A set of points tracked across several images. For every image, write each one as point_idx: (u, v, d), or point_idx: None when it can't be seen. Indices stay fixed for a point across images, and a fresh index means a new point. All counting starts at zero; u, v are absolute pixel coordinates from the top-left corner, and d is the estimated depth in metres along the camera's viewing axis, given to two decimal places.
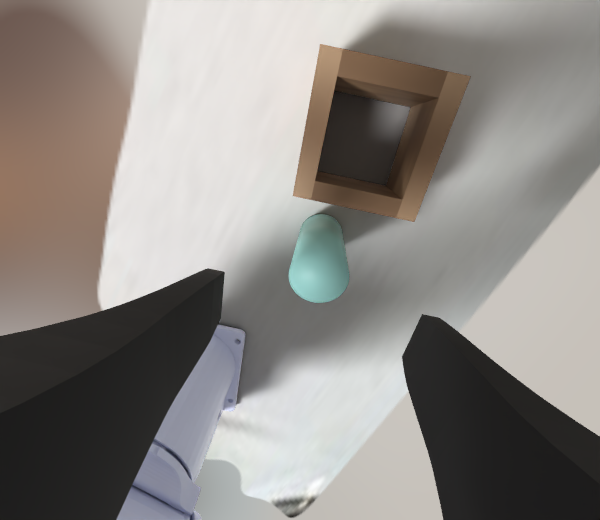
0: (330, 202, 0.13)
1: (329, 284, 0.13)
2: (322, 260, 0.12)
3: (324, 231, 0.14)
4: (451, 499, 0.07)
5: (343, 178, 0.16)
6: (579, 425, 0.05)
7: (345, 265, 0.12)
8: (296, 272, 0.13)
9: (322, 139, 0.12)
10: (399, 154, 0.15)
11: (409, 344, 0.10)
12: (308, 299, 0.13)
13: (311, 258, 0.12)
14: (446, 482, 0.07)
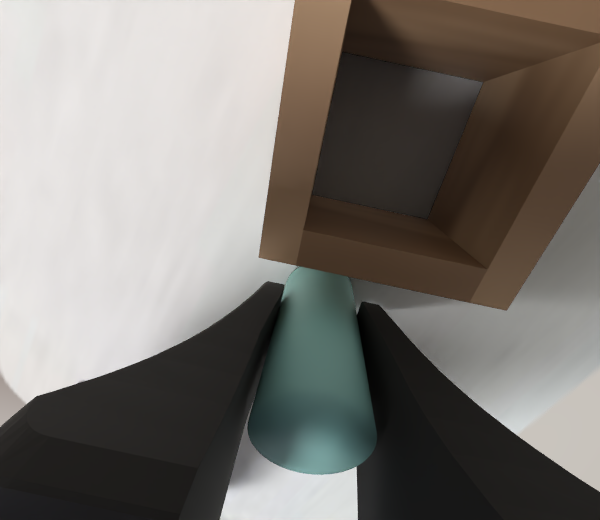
0: (335, 271, 0.06)
1: (333, 448, 0.06)
2: (318, 410, 0.06)
3: (324, 313, 0.08)
4: (364, 481, 0.07)
5: (357, 210, 0.09)
6: (471, 402, 0.05)
7: (369, 419, 0.06)
8: (263, 426, 0.06)
9: (318, 143, 0.05)
10: (460, 169, 0.08)
11: None
12: (290, 466, 0.07)
13: (295, 406, 0.06)
14: (362, 464, 0.07)
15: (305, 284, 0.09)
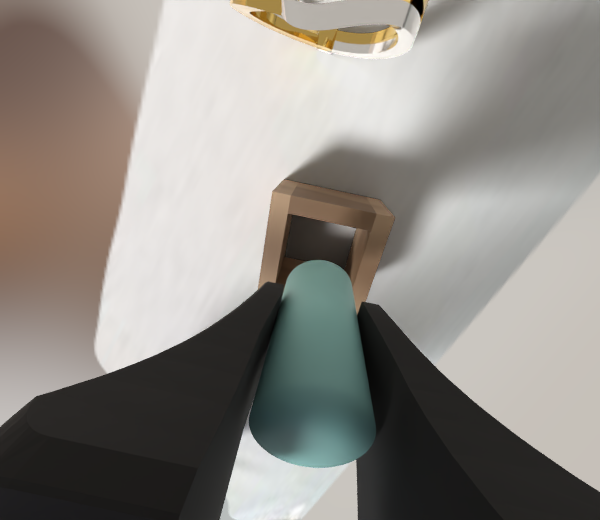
0: None
1: (333, 442, 0.06)
2: (319, 403, 0.06)
3: (324, 309, 0.08)
4: (364, 480, 0.07)
5: None
6: (471, 402, 0.05)
7: (368, 413, 0.06)
8: (264, 419, 0.06)
9: (278, 256, 0.14)
10: (352, 249, 0.17)
11: None
12: (290, 459, 0.07)
13: (296, 399, 0.06)
14: (362, 464, 0.07)
15: (306, 281, 0.09)
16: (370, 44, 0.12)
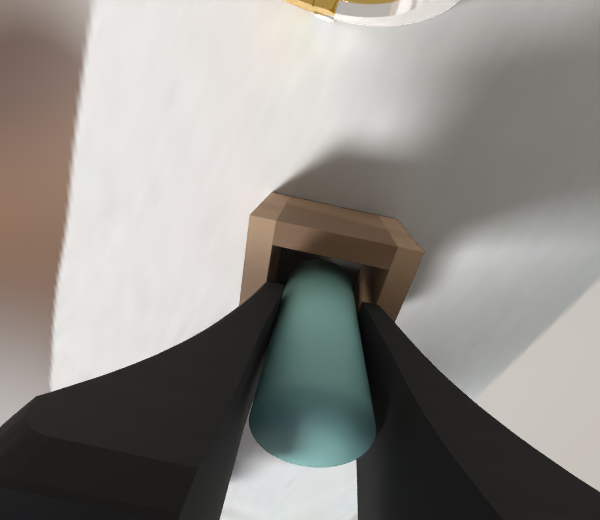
0: None
1: (333, 441, 0.06)
2: (319, 403, 0.06)
3: (324, 309, 0.08)
4: (364, 480, 0.07)
5: None
6: (471, 402, 0.05)
7: (368, 413, 0.06)
8: (264, 419, 0.06)
9: None
10: (360, 283, 0.13)
11: None
12: (290, 459, 0.07)
13: (296, 399, 0.06)
14: (362, 464, 0.07)
15: (306, 281, 0.09)
16: (391, 2, 0.08)
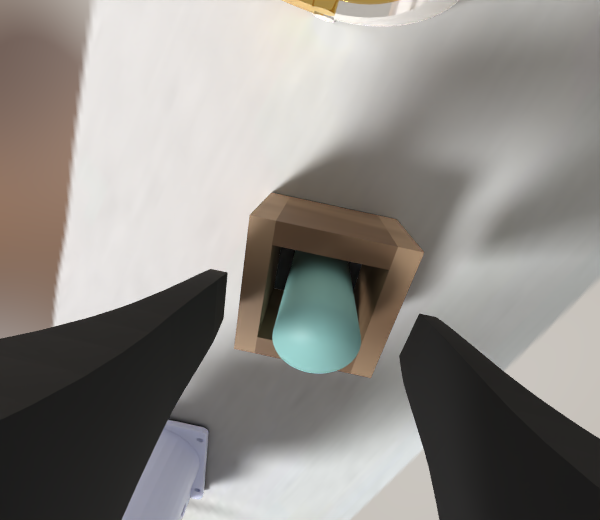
0: (276, 356, 0.12)
1: (331, 350, 0.09)
2: (321, 319, 0.08)
3: (325, 266, 0.10)
4: (447, 498, 0.07)
5: None
6: (574, 424, 0.05)
7: (355, 326, 0.08)
8: (283, 333, 0.09)
9: (261, 301, 0.11)
10: (360, 283, 0.13)
11: (406, 343, 0.10)
12: (300, 368, 0.09)
13: (305, 316, 0.08)
14: (442, 481, 0.07)
15: None
16: (391, 2, 0.08)
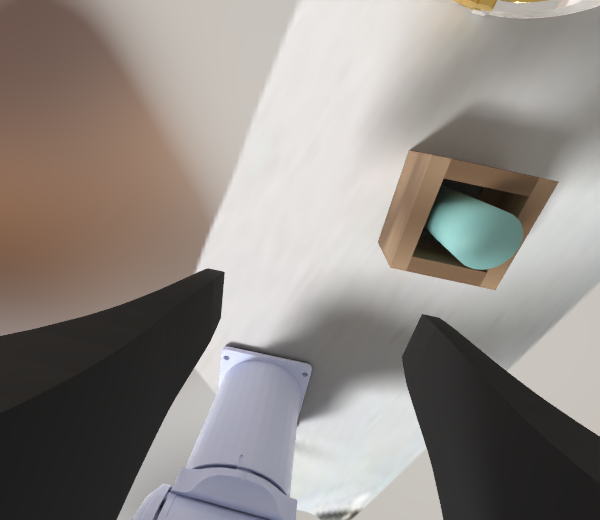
0: (423, 273, 0.15)
1: (497, 249, 0.12)
2: (497, 223, 0.12)
3: (473, 198, 0.14)
4: (451, 499, 0.07)
5: (421, 242, 0.18)
6: (579, 425, 0.05)
7: (520, 228, 0.12)
8: (465, 236, 0.12)
9: (423, 225, 0.14)
10: None
11: (409, 344, 0.10)
12: (468, 266, 0.13)
13: (486, 221, 0.12)
14: (446, 482, 0.07)
15: (446, 192, 0.16)
16: (544, 1, 0.12)
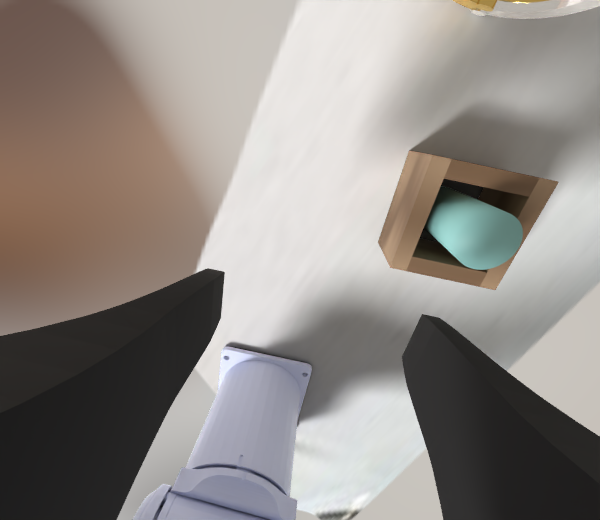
0: (423, 273, 0.15)
1: (497, 249, 0.12)
2: (497, 223, 0.12)
3: (473, 198, 0.14)
4: (451, 499, 0.07)
5: (421, 242, 0.18)
6: (579, 425, 0.05)
7: (520, 228, 0.12)
8: (465, 236, 0.12)
9: (423, 225, 0.14)
10: None
11: (409, 344, 0.10)
12: (468, 266, 0.13)
13: (485, 221, 0.12)
14: (446, 482, 0.07)
15: (446, 192, 0.16)
16: (544, 1, 0.12)
